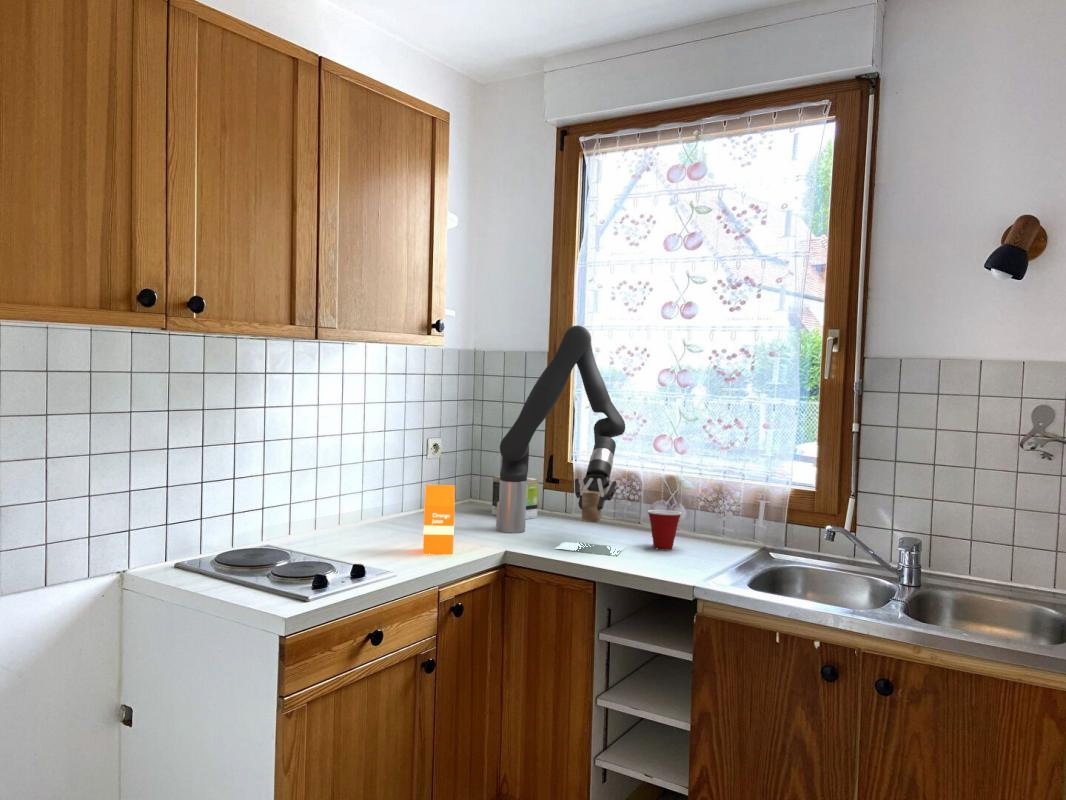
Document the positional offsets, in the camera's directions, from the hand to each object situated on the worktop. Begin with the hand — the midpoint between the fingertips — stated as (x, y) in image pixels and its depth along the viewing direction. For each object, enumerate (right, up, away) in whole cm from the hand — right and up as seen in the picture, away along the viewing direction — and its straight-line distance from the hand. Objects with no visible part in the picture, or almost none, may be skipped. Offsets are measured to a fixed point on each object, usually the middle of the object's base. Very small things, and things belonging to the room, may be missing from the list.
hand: (590, 508), depth 242 cm
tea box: (-25, -10, +52) cm, 58 cm away
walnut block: (0, -4, +2) cm, 5 cm away
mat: (0, -13, +2) cm, 13 cm away
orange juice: (-46, -12, -9) cm, 48 cm away
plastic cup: (+24, -14, +7) cm, 28 cm away
